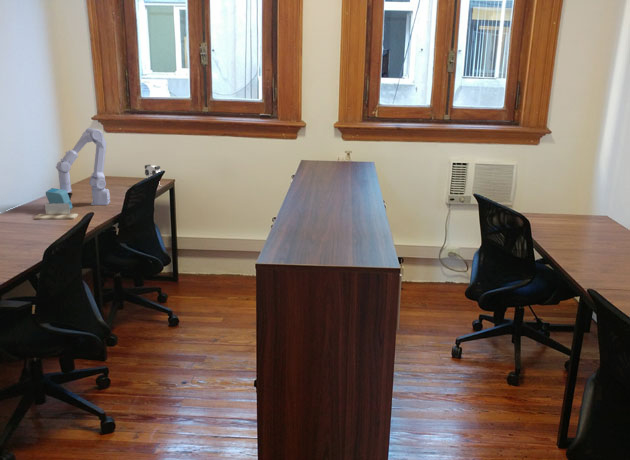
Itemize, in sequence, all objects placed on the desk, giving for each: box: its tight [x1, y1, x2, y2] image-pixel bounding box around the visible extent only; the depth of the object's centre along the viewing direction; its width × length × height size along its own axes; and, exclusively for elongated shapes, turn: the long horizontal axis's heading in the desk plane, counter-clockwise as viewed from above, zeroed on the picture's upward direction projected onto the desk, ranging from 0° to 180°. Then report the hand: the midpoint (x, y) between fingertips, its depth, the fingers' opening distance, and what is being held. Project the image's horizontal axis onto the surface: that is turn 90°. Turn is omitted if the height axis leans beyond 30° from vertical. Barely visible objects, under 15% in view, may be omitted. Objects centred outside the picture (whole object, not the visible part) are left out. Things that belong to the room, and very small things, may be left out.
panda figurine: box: [144, 164, 161, 186], centre depth 375 cm, size 12×11×15 cm
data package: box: [45, 187, 73, 211], centre depth 310 cm, size 12×4×12 cm, turn 66°
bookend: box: [33, 202, 79, 221], centre depth 298 cm, size 20×8×7 cm, turn 97°
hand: (67, 206), depth 318 cm, fingers closed
